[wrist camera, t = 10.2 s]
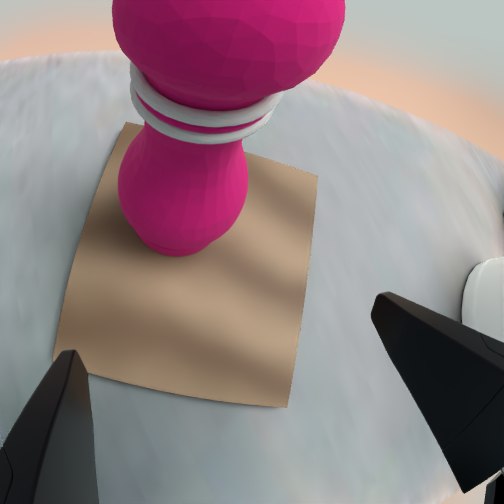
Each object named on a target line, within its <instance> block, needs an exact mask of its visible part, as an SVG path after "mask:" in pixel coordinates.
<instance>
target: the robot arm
mask: <svg viewBox="0 0 504 504" xmlns="http://www.w3.org/2000/svg"><path fill="white" fill-rule="evenodd" d="M371 319H372V322H373V324H374V326H375V328H376V330H377V332H378V334H379V336H380V338H381V340H382V343H383V345H384V347H385V349H386V351H387V353H388V355H389V357H390V359H391V361H392V362H393V364H394V366H395V367H396V369H397V371H398V372H399V374H400V376H401V378H402V379H403V381H404V383H405V384H406V386H407V388H408V390H409V391H410V393H411V395H412V397H413V398H414V400H415V402H416V404H417V405H418V407H419V409H420V411H421V413H422V414H423V416H424V418H425V420H426V422H427V424H428V425H429V427H430V429H431V431H432V433H433V435H434V437H435V438H436V440H437V442H438V444H439V446H440V448H441V450H442V452H443V454H444V456H445V458H446V460H447V462H448V464H449V466H450V468H451V470H452V472H453V474H454V476H455V478H456V480H457V482H458V484H459V486H460V488H461V490H462V492H463V493H464V494H465V493H466V492H468V491H470V490H471V489H473V488H474V487H476V486H477V485H479V484H481V483H482V482H484V481H485V480H487V479H488V478H489V477H491V476H492V475H494V474H495V473H497V472H498V471H499V470H500V472H499V473H498V474H497V475H496V476H495V477H494V478H493V479H492V480H491V482H490V483H488V484H487V486H486V494H485V501H484V504H504V342H501V341H499V340H497V339H494V338H492V337H490V336H487V335H485V334H483V333H481V332H478V331H477V330H474V329H472V328H470V327H468V326H466V325H463V324H461V323H459V322H457V321H454V320H452V319H450V318H448V317H446V316H443V315H441V314H439V313H437V312H434V311H432V310H430V309H428V308H425V307H423V306H421V305H419V304H416V303H414V302H412V301H410V300H407V299H405V298H403V297H401V296H398V295H396V294H394V293H391V292H384V293H380V294H378V295H377V296H376V299H375V302H374V305H373V308H372V311H371ZM0 504H99V497H98V489H97V479H96V467H95V453H94V431H93V419H92V411H91V403H90V393H89V383H88V374H87V370H86V368H85V366H84V364H83V362H82V360H81V358H80V356H79V353H78V352H77V351H76V350H75V349H70V350H63V351H61V352H60V354H59V355H58V357H57V358H56V360H55V361H54V362H53V364H52V365H51V367H50V368H49V370H48V371H47V373H46V374H45V376H44V377H43V379H42V380H41V382H40V384H39V385H38V387H37V388H36V390H35V391H34V393H33V395H32V396H31V398H30V399H29V401H28V403H27V404H26V406H25V407H24V409H23V411H22V412H21V414H20V416H19V417H18V419H17V421H16V422H15V424H14V426H13V428H12V429H11V431H10V433H9V435H8V436H7V438H6V440H5V442H4V443H3V447H1V449H0Z"/></svg>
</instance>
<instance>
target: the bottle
mask: <svg viewBox="0 0 504 504" xmlns="http://www.w3.org/2000/svg"><path fill="white" fill-rule="evenodd" d="M462 324H463V325H466V326H468V327H470V328H472V329H474V330H477V331H478V332H481V333H483V334H485V335H487V336H490V337H492V338H494V339H497V340H499V341H501V342H504V256H502V257H499V258H492V259H489V260H486V261H484V262H482V263H480V264H478V265H476V266H475V268H474V269H473V271H472V272H471V273H470V275H469V276H468V280H467V283H466V286H465V289H464V294H463V304H462Z"/></svg>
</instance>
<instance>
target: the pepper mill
mask: <svg viewBox="0 0 504 504" xmlns="http://www.w3.org/2000/svg"><path fill="white" fill-rule="evenodd" d="M112 17H113V27H114V32H115V36H116V40H117V42H118V44H119V46H120V48H121V50H122V51H123V53H124V54H125V55H126V56H127V57H128V58H129V59H130V60H131V63H130V76H131V83H130V93H131V99H132V102H133V104H134V107H135V108H136V110H137V112H138V113H139V115H140V116H141V117H142V118H143V119H144V120H145V125H144V127H143V129H142V130H141V131H140V132H139V134H138V135H137V136H136V137H135V138H134V139H133V141H132V142H131V144H130V145H129V147H128V149H127V151H126V153H125V155H124V157H123V160H122V162H121V165H120V169H119V174H118V197H119V202H120V207H121V209H122V211H123V213H124V216H125V218H126V219H127V221H128V222H129V224H130V225H131V226H132V227H133V229H134V230H135V231H136V233H137V234H138V236H139V238H140V239H141V240H142V241H143V242H144V243H145V244H146V245H147V246H148V247H149V248H151V249H152V250H154V251H156V252H158V253H160V254H164V255H167V256H175V257H180V256H188V255H191V254H194V253H197V252H199V251H201V250H202V249H204V248H205V247H207V246H208V245H209V244H210V243H211V242H213V241H215V240H216V239H218V238H220V237H221V236H222V235H223V234H225V233H226V232H227V231H228V230H229V229H230V228H231V227H232V225H233V224H234V223H235V221H236V220H237V218H238V216H239V215H240V212H241V210H242V208H243V206H244V203H245V199H246V195H247V192H248V168H247V161H246V158H245V155H244V151H243V148H242V143H241V142H242V139H243V138H246V137H247V136H249V135H251V134H253V133H255V132H256V131H257V130H259V129H260V128H262V127H263V126H264V125H265V124H266V123H267V121H268V120H269V119H270V117H271V115H272V113H273V111H274V107H275V106H276V105H277V104H278V103H279V102H280V100H281V98H282V96H283V93H284V91H285V90H288V89H291V88H293V87H295V86H296V85H298V84H299V83H301V82H302V81H304V80H305V79H307V78H308V77H310V76H311V75H313V74H315V73H316V71H317V70H318V69H319V67H320V66H321V65H322V64H323V62H325V60H326V59H327V58H328V57H329V56H330V54H331V53H332V50H333V49H334V46H335V45H336V43H337V41H338V39H339V36H340V33H341V30H342V26H343V23H344V18H345V0H113V4H112Z"/></svg>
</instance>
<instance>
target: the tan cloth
mask: <svg viewBox="0 0 504 504" xmlns="http://www.w3.org/2000/svg"><path fill="white" fill-rule="evenodd" d="M143 127H144V126H143V125H138V124H134V123H129V122H126V123H125V125H124V127H123V129H122V131H121V133H120V135H119V138H118V140H117V142H116V144H115V147H114V149H113V151H112V153H111V156H110V158H109V160H108V163H107V165H106V168H105V170H104V173H103V175H102V178H101V180H100V183H99V185H98V188H97V191H96V193H95V196H94V199H93V202H92V204H91V207H90V210H89V213H88V216H87V219H86V222H85V225H84V228H83V231H82V234H81V237H80V241H79V244H78V247H77V251H76V254H75V258H74V261H73V265H72V269H71V272H70V276H69V280H68V284H67V288H66V293H65V297H64V301H63V306H62V310H61V315H60V320H59V325H58V331H57V336H56V342H55V348H54V355H53V361H55V360H56V358H57V357H58V355H59V354H60V352H61V351H63V350H70V349H75V350H76V351H77V352H78V353H79V356H80V358H81V360H82V362H83V364H84V366H85V368H86V370H87V372H88V373H92V374H95V375H99V376H102V377H106V378H109V379H113V380H117V381H121V382H125V383H129V384H133V385H137V386H141V387H146V388H150V389H155V390H160V391H165V392H170V393H175V394H180V395H186V396H192V397H198V398H204V399H210V400H217V401H225V402H232V403H241V404H250V405H260V406H271V407H285V408H287V405H288V399H289V394H290V388H291V382H292V377H293V371H294V365H295V359H296V353H297V346H298V340H299V334H300V327H301V320H302V313H303V306H304V299H305V291H306V284H307V276H308V268H309V260H310V251H311V242H312V233H313V224H314V214H315V203H316V192H317V181H318V176H317V175H314V174H311V173H308V172H305V171H302V170H299V169H296V168H294V167H291V166H288V165H285V164H282V163H279V162H275V161H272V160H269V159H266V158H263V157H260V156H256V155H253V154H250V153H247V152H244V155H245V158H246V161H247V168H248V192H247V195H246V199H245V203H244V206H243V208H242V210H241V212H240V215H239V216H238V218H237V220H236V221H235V223H234V224H233V225H232V227H231V228H230V229H229V230H228V231H227V232H226V233H225V234H223V235H222V236H221V237H220V238H218V239H216V240H215V241H213V242H211V243H210V244H209V245H208V246H207V247H205V248H204V249H202V250H201V251H199V252H197V253H194V254H191V255H188V256H180V257H175V256H167V255H164V254H160V253H158V252H156V251H154V250H152V249H151V248H149V247H148V246H147V245H146V244H145V243H144V242H143V241H142V240H141V239H140V238H139V236H138V234H137V233H136V231H135V230H134V229H133V227H132V226H131V225H130V224H129V222H128V221H127V219H126V218H125V216H124V213H123V211H122V209H121V207H120V202H119V197H118V174H119V169H120V165H121V162H122V160H123V157H124V155H125V153H126V151H127V149H128V147H129V145H130V144H131V142H132V141H133V139H134V138H135V137H136V136H137V135H138V134H139V132H140V131H141V130H142V129H143Z"/></svg>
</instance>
